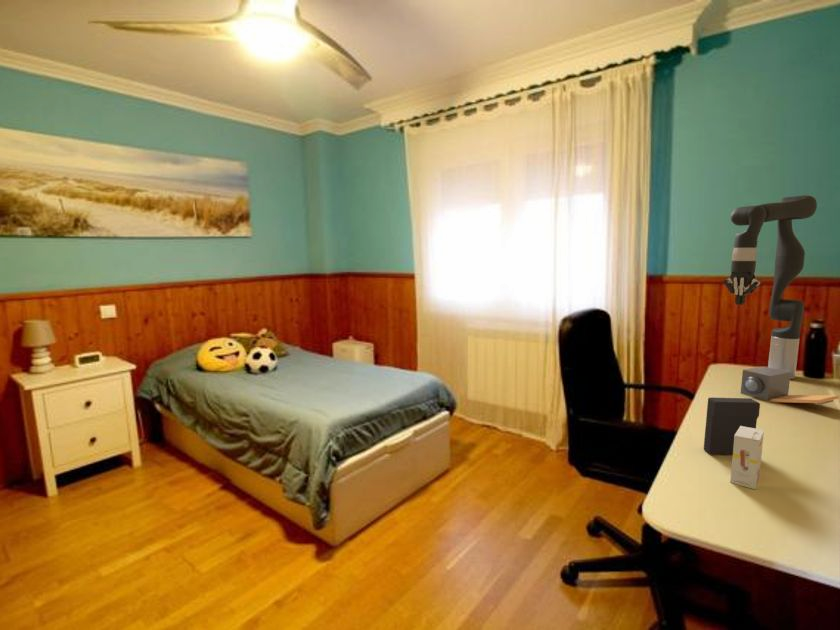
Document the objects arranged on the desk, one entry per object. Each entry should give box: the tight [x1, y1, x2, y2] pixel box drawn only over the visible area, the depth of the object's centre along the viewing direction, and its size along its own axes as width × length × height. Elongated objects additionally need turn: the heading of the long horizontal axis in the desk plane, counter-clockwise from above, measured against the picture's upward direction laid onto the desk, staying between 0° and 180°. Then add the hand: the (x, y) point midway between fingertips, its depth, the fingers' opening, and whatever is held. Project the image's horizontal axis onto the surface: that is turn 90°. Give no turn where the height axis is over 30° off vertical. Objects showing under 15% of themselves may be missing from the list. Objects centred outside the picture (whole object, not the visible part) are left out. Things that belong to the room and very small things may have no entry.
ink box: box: [729, 426, 765, 490], centre depth 102 cm, size 9×5×12 cm, turn 136°
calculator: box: [703, 397, 761, 456], centre depth 115 cm, size 11×4×15 cm, turn 84°
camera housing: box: [740, 365, 791, 402], centre depth 159 cm, size 14×9×10 cm, turn 112°
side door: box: [769, 394, 840, 406], centre depth 149 cm, size 11×2×15 cm
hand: (739, 304), depth 168 cm, fingers closed
